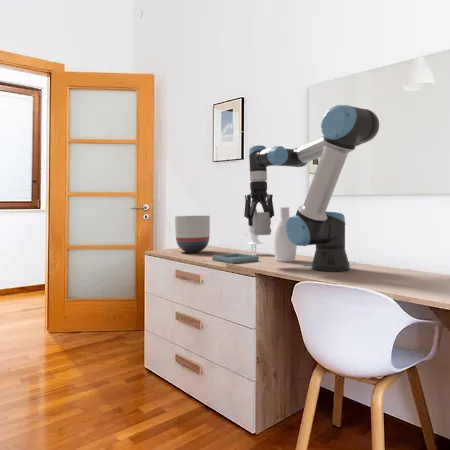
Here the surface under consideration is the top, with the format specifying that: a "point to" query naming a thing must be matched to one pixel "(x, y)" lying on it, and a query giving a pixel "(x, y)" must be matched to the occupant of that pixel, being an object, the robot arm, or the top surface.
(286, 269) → the top surface
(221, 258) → the tray
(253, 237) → the figurine
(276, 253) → the bottle
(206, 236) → the planter
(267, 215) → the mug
